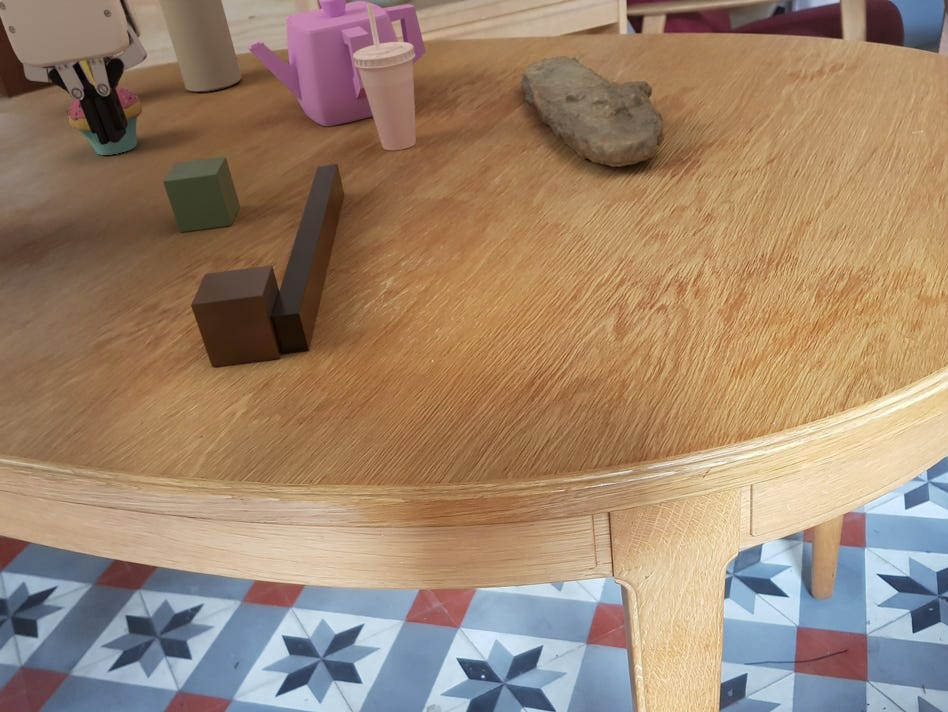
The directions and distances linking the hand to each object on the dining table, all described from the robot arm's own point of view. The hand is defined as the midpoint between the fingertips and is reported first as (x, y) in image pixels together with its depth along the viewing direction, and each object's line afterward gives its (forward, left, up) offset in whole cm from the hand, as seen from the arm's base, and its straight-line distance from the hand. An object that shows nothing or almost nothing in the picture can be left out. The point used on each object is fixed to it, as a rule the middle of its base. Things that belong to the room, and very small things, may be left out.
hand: (113, 138), depth 87 cm
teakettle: (+17, +33, -9) cm, 38 cm away
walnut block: (+15, -27, -9) cm, 32 cm away
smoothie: (+24, +15, -9) cm, 30 cm away
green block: (+6, 0, -9) cm, 11 cm away
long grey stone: (+45, +14, -9) cm, 48 cm away
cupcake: (-11, +28, -9) cm, 31 cm away
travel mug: (-4, +53, -9) cm, 54 cm away
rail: (+18, -14, -9) cm, 24 cm away
